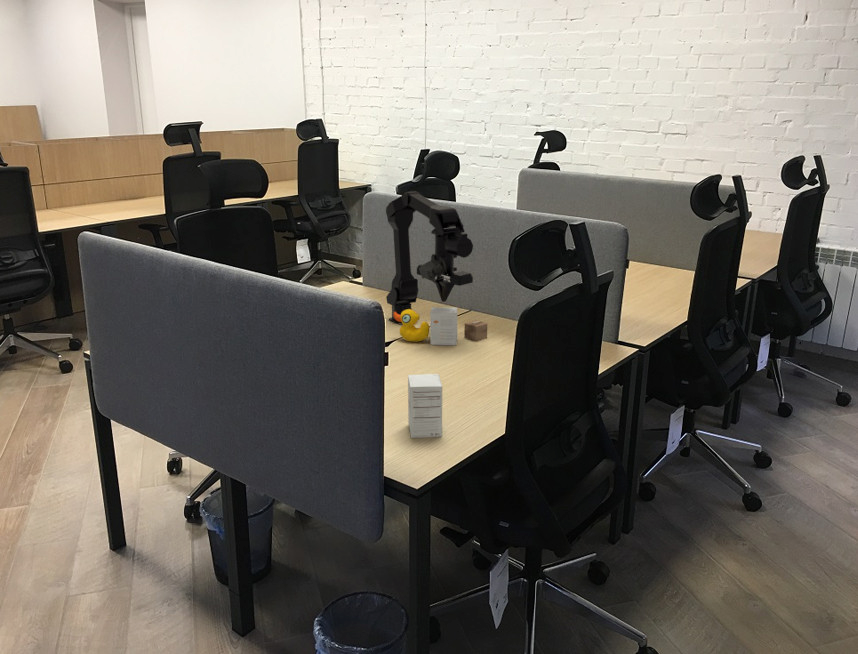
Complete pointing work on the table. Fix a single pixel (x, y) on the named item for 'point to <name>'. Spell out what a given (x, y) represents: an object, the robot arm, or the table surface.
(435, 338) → the small box
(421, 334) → the duckling
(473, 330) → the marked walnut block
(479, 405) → the table surface
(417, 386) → the supplement box
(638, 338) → the table surface
